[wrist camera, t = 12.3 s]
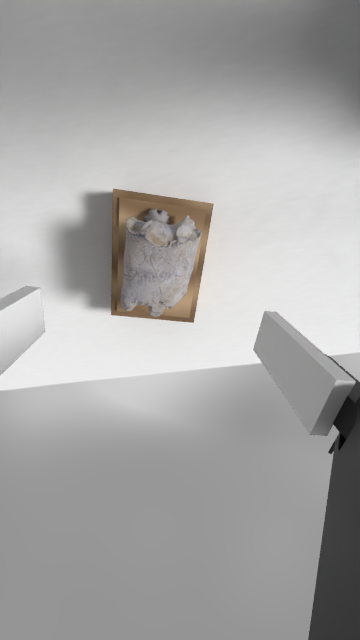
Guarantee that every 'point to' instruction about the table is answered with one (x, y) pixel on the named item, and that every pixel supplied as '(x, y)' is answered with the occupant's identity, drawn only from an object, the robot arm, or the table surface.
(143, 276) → the stone
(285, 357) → the robot arm
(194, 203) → the walnut slab
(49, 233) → the table surface
